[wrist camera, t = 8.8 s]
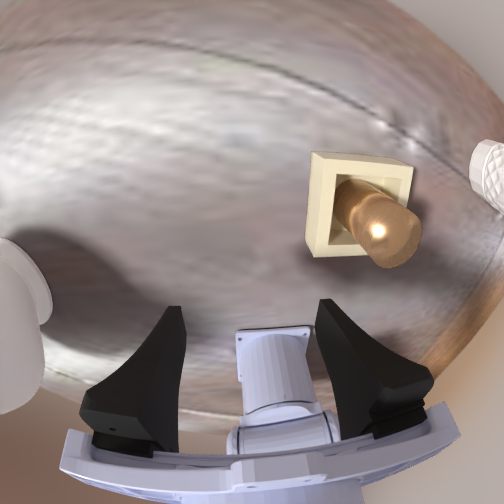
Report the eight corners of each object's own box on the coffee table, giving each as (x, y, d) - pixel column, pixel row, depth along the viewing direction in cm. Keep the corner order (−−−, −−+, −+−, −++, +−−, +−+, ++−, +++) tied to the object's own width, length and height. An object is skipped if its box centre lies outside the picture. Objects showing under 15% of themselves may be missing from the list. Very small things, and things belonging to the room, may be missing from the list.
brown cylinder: (372, 221, 22) (415, 263, 16) (330, 226, 22) (367, 273, 16) (374, 176, 20) (425, 207, 14) (330, 180, 20) (373, 213, 14)
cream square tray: (380, 237, 24) (395, 253, 21) (304, 239, 23) (313, 257, 20) (393, 158, 20) (413, 167, 17) (311, 151, 19) (323, 158, 17)
